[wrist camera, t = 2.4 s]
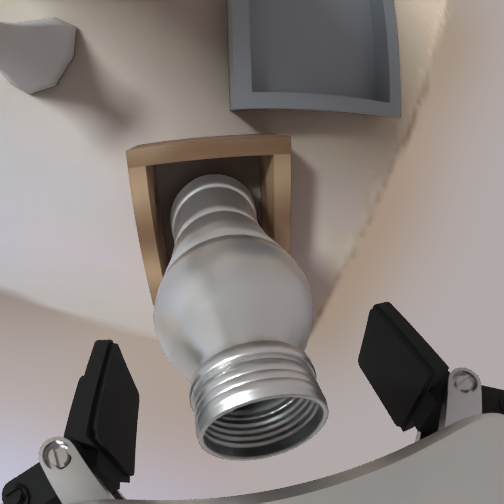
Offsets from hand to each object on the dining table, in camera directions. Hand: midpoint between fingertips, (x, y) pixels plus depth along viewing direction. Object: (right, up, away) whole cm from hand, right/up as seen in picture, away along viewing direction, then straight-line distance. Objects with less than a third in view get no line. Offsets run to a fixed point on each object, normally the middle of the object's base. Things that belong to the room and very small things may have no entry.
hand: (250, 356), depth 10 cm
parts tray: (+5, +24, +8) cm, 26 cm away
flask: (-18, +20, +5) cm, 27 cm away
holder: (-3, +7, +14) cm, 17 cm away
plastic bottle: (-3, +7, +15) cm, 17 cm away
